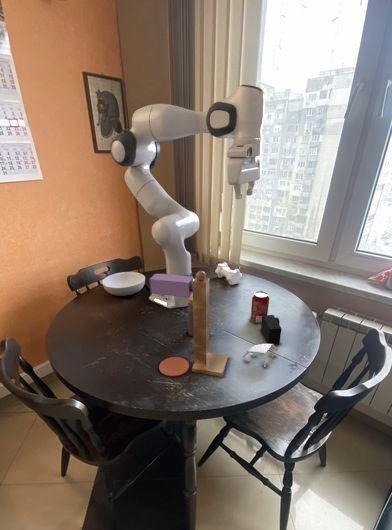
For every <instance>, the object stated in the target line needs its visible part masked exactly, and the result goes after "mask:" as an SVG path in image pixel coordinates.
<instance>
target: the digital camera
mask: <svg viewBox="0 0 392 530" xmlns="http://www.w3.org/2000/svg"><path fill="white" fill-rule="evenodd" d="M260 324H261V325H260V332H261V334H262V336H263V338H264V340H265V342H266V344H274V346H276V345H278V346H279V345H280V344H281V343H280V342H281V336H282V331H283V329H282V327H281V324H280V319H279V317H278V316H277V317H275V315H274V314H267V315H263V316H262V323H260Z"/></svg>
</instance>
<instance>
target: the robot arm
mask: <svg viewBox="0 0 392 530" xmlns="http://www.w3.org/2000/svg"><path fill="white" fill-rule="evenodd" d="M265 99H266V98H265V92H264V90H263V89H262V88H261V87H258V86H255V85H251V84H241V85H239V86H238V87H237V88H236V89H235V90H234V91H233V92H232V93H231V94H229V95H228V96H226V97H225V98H223V99H221V100H218V101H216V102H214V103H212V104H210V106H209V108H208V110H207V111H199V110H198V111H197V110H192V109H188V108H185V107H181V106H177V105H174V104H170V103H153V104H148V105H145V106H143V107H140V108H138V109H136V110H135V111H134V112H133V114H132V118H131V128H130V129H128V128H123V130H121V132H120V133H119V134H117V135H116V136H114V137H113V138H112V140H111V141H110V147H109V148H110V155H111V158H112V160H113V161H114V163H116V164H117V165H119V166H121V167H125V168H127V169H126V170H125V172H124V181H125V183H126V186H127V187H128V189H129V190H130V192H131V193H132V195H133V197H134V198H135V199H136V201H137V202H138V203H139V204H140V205H141V206H142V208H143V209H144V210H145V211H146V213H147V214H148V215H150V216H151V217H153V218H156V219H158V220H156V221H155V222H154V223H153V225H152V226H151V235H152V238H153V240H154V241H155V243H156V244H158V245H159V246H160V247H161V249H162V252H163V254H164V258H165V266H166V267H165V269H166V270H165V271H164V272H163V273H162V274H167V275H178V276H190V277H193V271H192V256H191V253H190V252H189V251H188V250H187V249H186V247H185V240H187V239H189V238H191V237H192V236H193V235H195V234H196V233H197V231H199V228H200V219H199V217H198V215H197V214H196V213H195V212H193V211H191V210H188V209H187V208H186V207H184V206H182V205H181V204H179V203H178V202H177V201H176V200H174V198H172V197H171V195H169V194H168V193H167V192H166V190H165V189H164V188H163V187H162V185H161V184H160V183H159V182H158V181H157V180H156V178H155V177H154V176H153V174H152V173H151V171H150V170H152V169H154V168H155V166H156V163H157V162H158V160H159V158H160V154H161V145H160V142H170V141H175V140H178V139H179V140H180V139H183V138H187V137H189V136H190V137H191V136H194V135H199V134H210V135H211V136H213V137H215V138H218V139H233V143H232V145H231V146H229V148H227V151H226V157H227V158H228V160H227V167H226V169H227V172H226V173H227V183H228V185H230V186H233V190H234V194H235V196H234V197H235V200H242V198H243V192H242V187H243V186H242V185H244V184H247V189H246V191H245V192H246V196H252V195H253V192H254V191H253V190H254V188H255V184H256V181H259V180H260V179H261V175H262V157H261V156H262V146H263V134H262V132H263V131H262V130H263V125H264V122H265V109H266V106H265V105H266V102H265V101H266V100H265ZM103 274H105V276H106V277H108V276H109V274H108V272H107V271H106V270H104V273H103ZM194 279H195V278H193V281H194ZM144 286H146V288H148V290H150V284H148V283H147V282H145V284H144ZM192 295H193V293H192V294H191V295H190V296H192ZM188 298H189V297H179V296H170V295H160V294H151V293H150V295H149V297H148V300H149V301H150V302H153V303H154V304H158V305H160V306H162V307H165V308H166V309H176V308H185V307H189V305H188V302H189V299H188Z"/></svg>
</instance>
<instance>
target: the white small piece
mask: <svg viewBox="0 0 392 530" xmlns="http://www.w3.org/2000/svg"><path fill="white" fill-rule="evenodd" d="M271 348H273V349H275V350H273V351H272V352H271V353H270V356H271V358H274V357H275V356H274V355H273V354H274V353H275V352H277V351H278V350H279V349H278V348H277V346H276V345H274V344H267V343H259V344H254V345H253V346H252V347H251V348H250V349H248V350H247V351H246V352H245V354H244V355H243V356H242V358H243V359H245V363H247V362H249V361H250V359H248V358H246V357H247V356H248V355H249V354H253V355H252V357H253V358H255V356H256V354H259V355H260V354H261V355H264V360H265V361H263V367H264V368H267V364H268V363H269V360H268V356H267V353H268V351H269V350H270V349H271Z"/></svg>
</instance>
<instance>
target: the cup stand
mask: <svg viewBox="0 0 392 530" xmlns="http://www.w3.org/2000/svg"><path fill="white" fill-rule="evenodd" d="M193 279H194V281H190V283H189V289H193V324H194V336H193V354H194V355H193V356H194V362H193V365H192V366H191V367H192V368H191V372H192V373H196V374H203V375H210V376H216V377H221V378H223V376H224V372H225V371H226V370H225V369H226V366H227V363H228V360H229V354H223V353H217V352H210V277H207V274H206V272H205V271H203V270H199V271H197V272H196V273H195V278H193Z"/></svg>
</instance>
